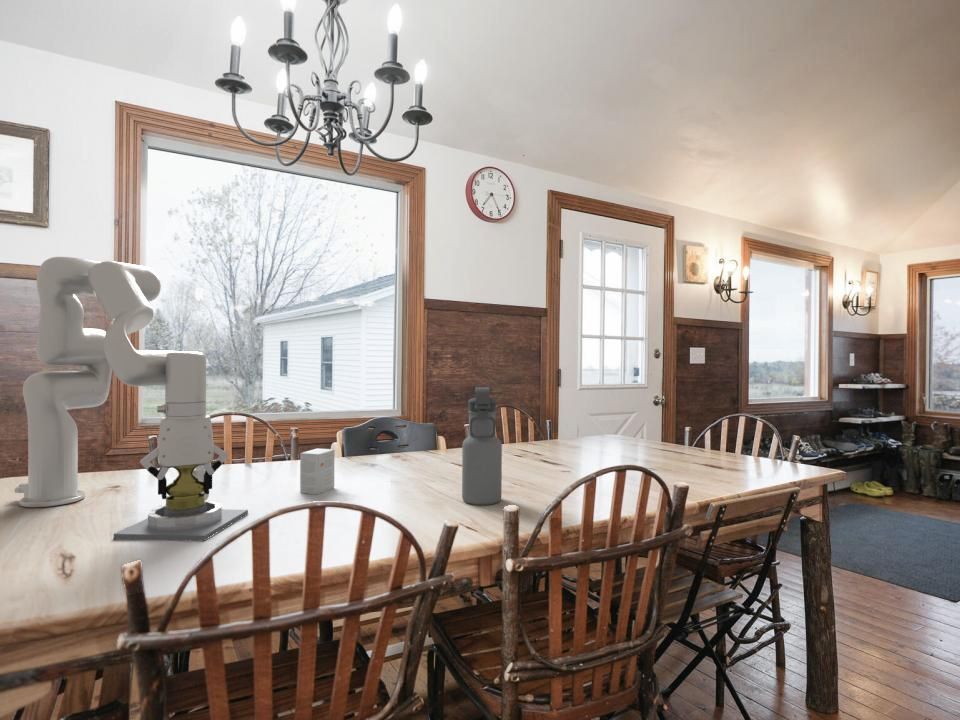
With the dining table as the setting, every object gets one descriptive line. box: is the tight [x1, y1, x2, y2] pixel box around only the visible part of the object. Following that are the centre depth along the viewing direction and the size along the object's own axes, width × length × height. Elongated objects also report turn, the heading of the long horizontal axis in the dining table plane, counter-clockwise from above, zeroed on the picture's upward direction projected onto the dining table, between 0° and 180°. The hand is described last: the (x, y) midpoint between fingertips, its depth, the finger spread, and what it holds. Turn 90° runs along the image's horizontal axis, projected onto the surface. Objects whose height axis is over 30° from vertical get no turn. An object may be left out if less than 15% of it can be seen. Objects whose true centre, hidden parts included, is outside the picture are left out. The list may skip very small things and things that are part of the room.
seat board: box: [113, 508, 249, 542], centre depth 115 cm, size 18×18×1 cm
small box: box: [299, 448, 335, 495], centre depth 147 cm, size 8×6×10 cm
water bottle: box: [461, 386, 503, 506], centre depth 137 cm, size 10×10×28 cm
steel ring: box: [147, 500, 223, 531], centre depth 115 cm, size 13×13×2 cm
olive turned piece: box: [164, 465, 205, 511], centre depth 115 cm, size 7×7×10 cm
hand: (185, 494), depth 115 cm, fingers closed on olive turned piece, 7 cm apart
